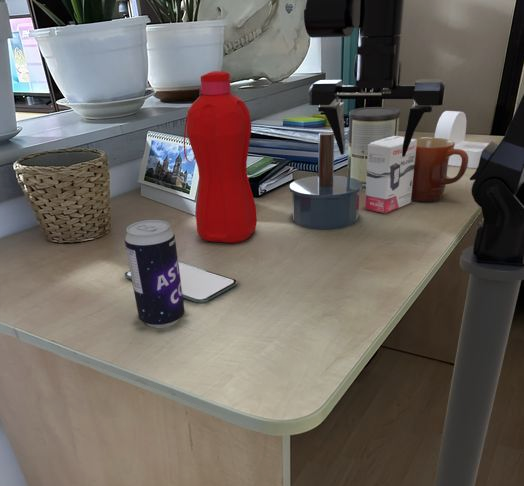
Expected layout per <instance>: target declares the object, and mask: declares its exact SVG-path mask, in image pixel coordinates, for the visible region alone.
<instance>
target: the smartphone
mask: <svg viewBox="0 0 524 486" xmlns="http://www.w3.org/2000/svg"><path fill="white" fill-rule="evenodd" d="M178 264H179V272H180V279H181V287H182V294H183V299H186V300H188V301H193V302H194V303H198V304H202V303H207V302H209V301H211V300H213V299H214V298H216V297H218V296H220V295H222V294H223V293H225V292H227V291H228V290H230V289H233V288H234V287H236V286H237V284H238V281H237V280H236V279H235V278H232V277H228V276H224V275H221V274H218V273H215V272H212V271H208V270H205V269H203V268H199V267H195V266H193V265H189V264H186V263H183V262H179V261H178ZM124 278H126V279H128V280H131V281H132V278H131V272H130V270H127V271H126V272H124Z"/></svg>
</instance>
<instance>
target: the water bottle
mask: <svg viewBox="0 0 524 486" xmlns="http://www.w3.org/2000/svg"><path fill="white" fill-rule="evenodd" d="M232 81H233V79H231V74H230V72H228V71H224V70H213V71H210V72H207V73H205V74H203V75H200V86H201V87H199V88H198V91H199V94H198V95H199V96H198V97H197V98H196V99H195V100H194V101H193V103H192V104H191V105H190V107H189V108H188V110H187V113H186V114H187V115H186V118H185V124H184V131H183V153H184V158H185V160H186V161H187V162H188V163H194V161H195V162H196V166H197V172H198V184H197V185H198V186H197V195H196V204H195V205H196V206H195V219H196V220H195V222H196V223H195V224H196V231H197V234H198V236H199V237H200V239H202V240H204V241H205V242H214V243H215V242H216V243H227V244H237V243H242V242H244V241H246V240H247V239H248V238H250V237H251V235H252V234H253V233H254V232H255V231H256V227H257V221H258V219H257V207H256V206H257V205H256V201H255V198H254V195H253V192H252V189H251V184H250V181H249V177H248V171H247V162H248V157H249V156H248V155H249V149H250V141H251V135H252V119H251V115H250V110H249V108H248V107H247V105H246V103H245V101H243V100H242V99H241V98H240V97H238V96H236V95H234V94H233V93H231V92H232V89H231V82H232ZM186 135H187V138H188V142H189V145H190V147H191V150H192V153H193V160H192V161H190V160H189V159H188V156H187V153H186Z"/></svg>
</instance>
